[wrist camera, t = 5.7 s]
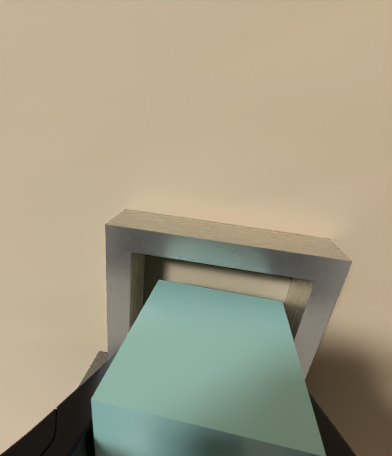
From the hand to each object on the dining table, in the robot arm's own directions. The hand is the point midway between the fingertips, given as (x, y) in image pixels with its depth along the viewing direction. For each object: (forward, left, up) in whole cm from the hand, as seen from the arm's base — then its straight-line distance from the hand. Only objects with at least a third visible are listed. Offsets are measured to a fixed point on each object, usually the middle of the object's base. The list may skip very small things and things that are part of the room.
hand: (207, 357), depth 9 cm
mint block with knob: (0, 0, -1) cm, 1 cm away
